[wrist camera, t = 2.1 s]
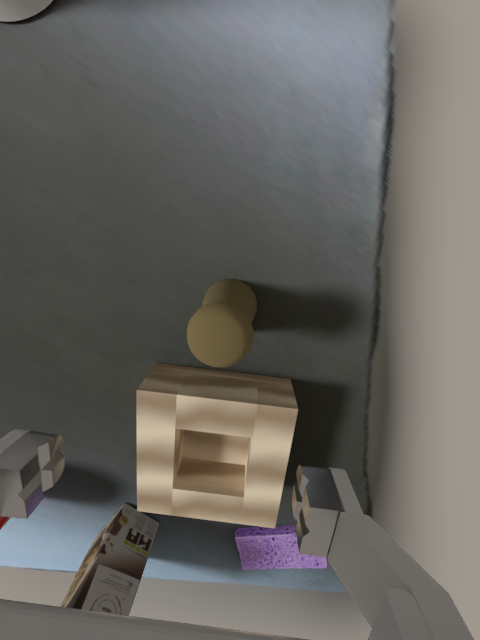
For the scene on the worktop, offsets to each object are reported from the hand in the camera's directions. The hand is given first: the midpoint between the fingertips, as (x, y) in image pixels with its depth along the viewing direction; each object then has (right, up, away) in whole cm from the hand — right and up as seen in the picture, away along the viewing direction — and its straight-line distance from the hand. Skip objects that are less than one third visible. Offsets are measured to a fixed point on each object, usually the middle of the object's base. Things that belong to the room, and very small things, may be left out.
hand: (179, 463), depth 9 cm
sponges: (+8, -28, +32) cm, 43 cm away
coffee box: (-15, -26, +32) cm, 44 cm away
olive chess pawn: (+1, +7, +21) cm, 22 cm away
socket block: (-1, -9, +26) cm, 27 cm away
